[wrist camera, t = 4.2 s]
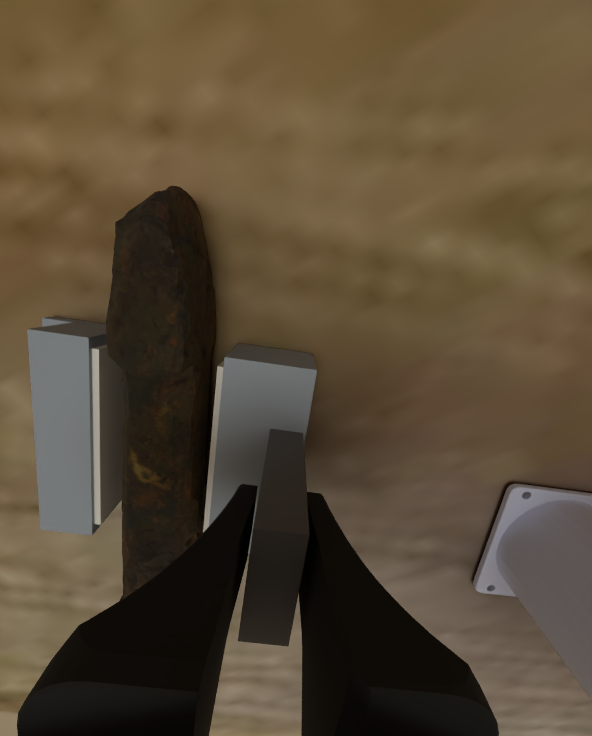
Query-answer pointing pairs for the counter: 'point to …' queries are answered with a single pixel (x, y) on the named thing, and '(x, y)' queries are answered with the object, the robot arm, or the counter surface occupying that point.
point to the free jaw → (264, 476)
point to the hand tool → (161, 377)
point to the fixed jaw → (76, 424)
